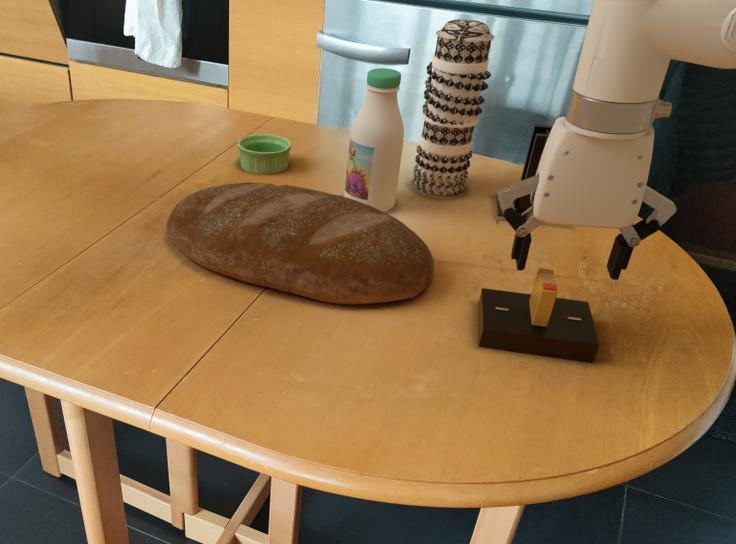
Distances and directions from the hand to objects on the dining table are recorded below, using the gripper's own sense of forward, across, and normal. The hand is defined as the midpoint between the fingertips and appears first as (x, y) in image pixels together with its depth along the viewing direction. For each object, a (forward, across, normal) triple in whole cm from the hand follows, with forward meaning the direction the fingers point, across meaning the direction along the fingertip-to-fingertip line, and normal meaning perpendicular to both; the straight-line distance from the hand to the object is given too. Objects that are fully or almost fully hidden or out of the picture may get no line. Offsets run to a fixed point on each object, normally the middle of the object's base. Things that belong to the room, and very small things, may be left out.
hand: (565, 269), depth 78 cm
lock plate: (+8, +2, +2) cm, 9 cm away
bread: (+7, +32, -9) cm, 34 cm away
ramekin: (+7, +43, -39) cm, 59 cm away
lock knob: (+5, +2, +2) cm, 6 cm away
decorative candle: (+8, +14, -37) cm, 40 cm away
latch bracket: (+8, 0, -32) cm, 33 cm away
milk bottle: (+8, +24, -28) cm, 38 cm away
